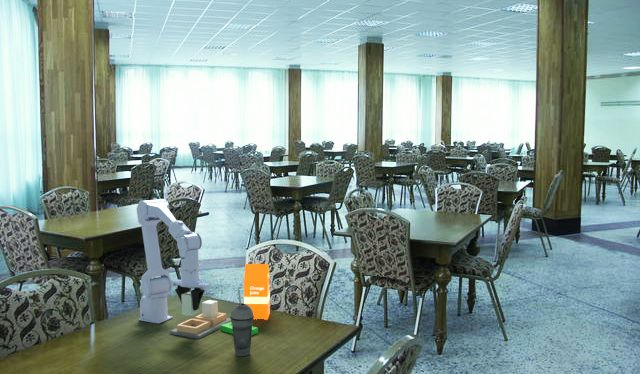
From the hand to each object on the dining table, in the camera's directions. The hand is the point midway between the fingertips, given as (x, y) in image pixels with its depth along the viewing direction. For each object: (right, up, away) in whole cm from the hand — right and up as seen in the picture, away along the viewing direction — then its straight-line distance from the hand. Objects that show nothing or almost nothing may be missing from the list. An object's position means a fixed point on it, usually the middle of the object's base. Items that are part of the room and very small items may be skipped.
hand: (190, 308), depth 195 cm
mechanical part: (+16, -9, +3) cm, 19 cm away
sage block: (0, -2, 0) cm, 2 cm away
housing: (+3, -8, +8) cm, 11 cm away
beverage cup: (+20, -10, -17) cm, 28 cm away
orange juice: (+20, -7, +20) cm, 30 cm away
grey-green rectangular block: (+4, -7, +12) cm, 14 cm away
